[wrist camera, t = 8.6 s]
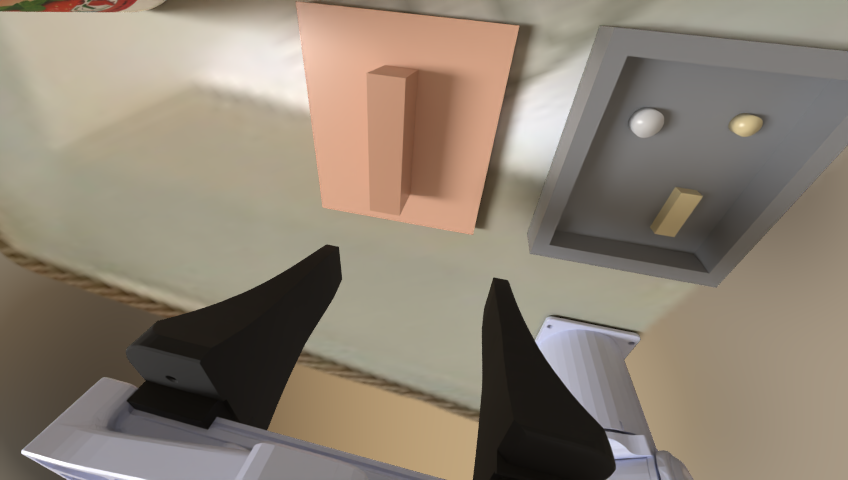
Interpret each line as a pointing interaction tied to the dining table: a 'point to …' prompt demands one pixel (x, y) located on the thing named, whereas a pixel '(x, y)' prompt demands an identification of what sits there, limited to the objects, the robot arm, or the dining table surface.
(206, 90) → the dining table surface
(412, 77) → the lid
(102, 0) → the fruit juice
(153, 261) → the dining table surface
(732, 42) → the tub
